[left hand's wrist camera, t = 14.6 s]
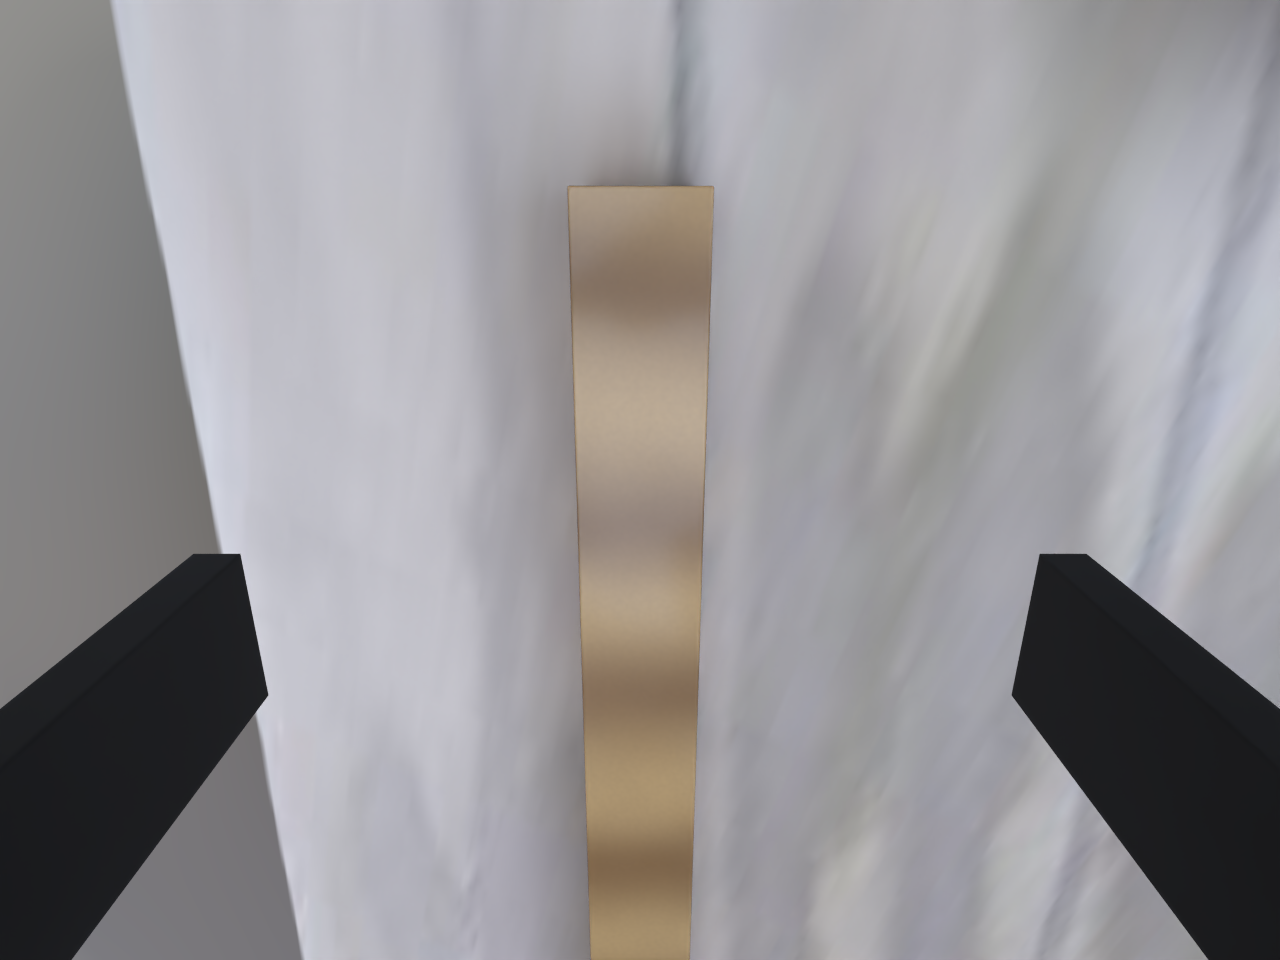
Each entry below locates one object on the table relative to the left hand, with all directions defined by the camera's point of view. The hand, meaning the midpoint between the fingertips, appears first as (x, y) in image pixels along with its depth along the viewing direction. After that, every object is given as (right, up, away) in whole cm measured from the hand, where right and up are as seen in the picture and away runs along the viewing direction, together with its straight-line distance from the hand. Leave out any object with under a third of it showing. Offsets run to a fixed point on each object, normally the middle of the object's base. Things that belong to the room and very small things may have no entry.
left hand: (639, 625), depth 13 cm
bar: (0, -13, +32) cm, 35 cm away
